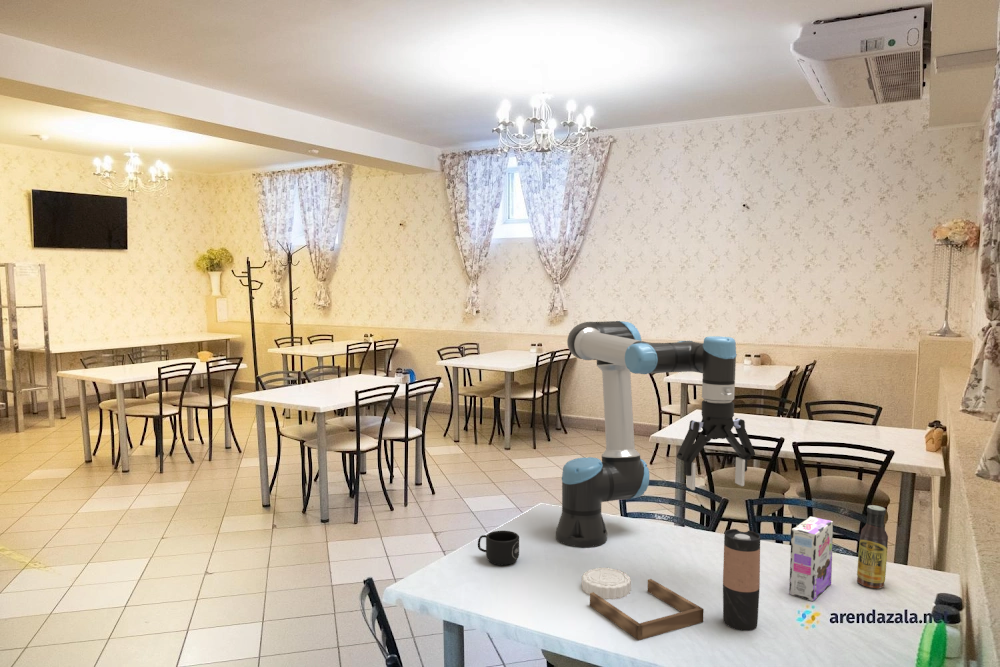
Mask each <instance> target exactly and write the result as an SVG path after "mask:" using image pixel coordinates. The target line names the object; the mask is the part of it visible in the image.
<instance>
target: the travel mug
mask: <svg viewBox="0 0 1000 667" xmlns="http://www.w3.org/2000/svg"><path fill="white" fill-rule="evenodd" d="M723 536H724V537H723V538H724V540H723V544H724V545H723V568H722V570H723V571H722V611H723V612H722V617H723V619H722V621H723V622H724V624H725V625H726V626H727V627H729V628H731V629H734V630H737V631H747V632H748V631H753V630H755V629H757V627H758V621H759V603H760V602H759V601H760V588H761V587H760V585H761V583H760V581H761V579H760V578H761V577H760V576H761V575H760V574H761V573H760V572H761V536H760V534H758V533H757V532H755V531H752V530H747V531H740V530H739V529H737V528H730V529H727V530H726V531H724V535H723Z"/></svg>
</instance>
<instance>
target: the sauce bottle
mask: <svg viewBox="0 0 1000 667" xmlns="http://www.w3.org/2000/svg"><path fill="white" fill-rule="evenodd" d="M866 512H867V518H866V523H865V524H864V526H863V527H862V528H861V531H860V537H859V545H858V546H859V547H858V558H857V571H856V572H857V573H856V575H857V576H856V578H857V579H856V581H857V583H858V584H859V585H861V586H863V587H865V588H871V589H875V590H879V589H881V588H884V586H885V582H886V572H887V559H888V558H887V557H888V542H889V535H888V533H887V532H886V529H885V515H886V513H887V512H886V508H885V507H883V506H879V505H874V504H872V505H871V504H869V505H867V508H866Z"/></svg>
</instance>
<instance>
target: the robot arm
mask: <svg viewBox="0 0 1000 667" xmlns="http://www.w3.org/2000/svg"><path fill="white" fill-rule="evenodd" d="M566 341H567V348H568V350H569V352H570V353H571V355H573V356H574V357H575V358H576V359H578V360H579V359H580V360H583V361H584V360H585V361H596V367H597V368H598V369H600V371H601V375H602V376H601V378H602V396H603V412H604V414H603V415H604V416H603V417H604V430H605V431H604V434H605V450H604V451H603V453H601V459H599V458H598V457H591V456H588V457H578V458H574V459H571V460H569V461H567V462H566V463H565V464H563V467H562V474H561V484H562V485H561V515H560V518H559V520H558V523H557V527H556V530H555V538H556V540H557V541H558V542H559V543H561V544H563V545H566V546H570V547H577V548H591V547H592V548H595V547H597V546H601V545H604V544H605V543H607V541H608V531H607V528H606V524H605V521H604V518H603V514H602V503H605V502H606V503H607V502H613V501H620V500H621V501H622V500H632V499H636V498H639V497H642V496H643V495H644V494H645V493H646V492H647V489H648V488H649V484H650V470H649V467H647V466H648V464H647V462H646V461H645V460H643V459H642V458H641V454H640V452H639V451H638V450H636V448H635V432H634V430H635V429H634V428H635V427H634V413H633V412H634V411H633V396H632V394H633V391H632V380H631V379H632V377H631V374H632V373H633V374H634V375H635V374H639V375H647V374H659V373H661V374H662V373H663V374H664V373H667V374H669V373H686V372H688V373H689V372H691V373H693V372H694V373H700V374H702V385H701V386H702V388H701V389H702V390H701V398H702V399H703V400H702V401H701V418H702V419H701V421H695V420H692V419H691V420H690V421H689V427H688V430H687V433H686V435H685V437H684V440H683V442H682V443H681V445H680V447H679V450H678V452H677V454H676V458H677V459H679V460H680V461H683V473H684V475H685V476H686V483H685V484H686V488H688V489H690V490H691V491H695V490H696V467H697V463H696V462H694V461H695V459H696V458H697V457H698V456H699V454H700V453H701V451H702V450H703V449H704V447H705V446H706V445H707V443H709V442H710V441H711V440H719V439H721V440H724V439H726V441H727V442H728V443H729V444H730V446H731V447H732V449H733V450H734V451H735V453H736V454H737V455H738V456H739V457H737V456H736V457H735V468H734V469H735V471H734V472H735V474H734V475H735V476H734V484H736V485H738V486H740V487H744V486H745V474H746V472H747V471H748V461H749V460H751V458H752V457H754V456H756V452H755V449H754V447H753V445H752V441H751V440H750V437H749V434H748V432H747V430H746V422H745V420H744V419H741V418H738V417H736V418H733V417H735V403H734V402H733V400H735V393H736V392H735V391H736V390H735V388H736V387H735V386H736V385H735V384H736V366H737V364H736V363H737V355H738V354H737V346H736V342H737V341H736V340H735V338H733V337H731V336H718V335H717V336H714V335H713V336H710V335H709V336H706V337H704V339H703V342H698V341H693V340H680V341H679V340H678V341H676V342H650V341H649V342H648V341H645V340H644V341H643V340H642V337H641V333H640V331H639V330H638V328H637V327H636V325H634V324H633V323H632V322H630V321H620V320H616V321H615V320H614V321H609V320H608V321H585V322H581V323H579V324H576V326H574V327H573V328H572V329H571V330H570V332H569V333H568V336H567V340H566ZM733 428H734V429H735V432H736V434H737V437H738V438H739V440H738V439H737V438H736V435H735V434H734V433H733V432H732V430H733ZM700 431H701V432H700ZM699 432H700V433H699Z"/></svg>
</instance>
